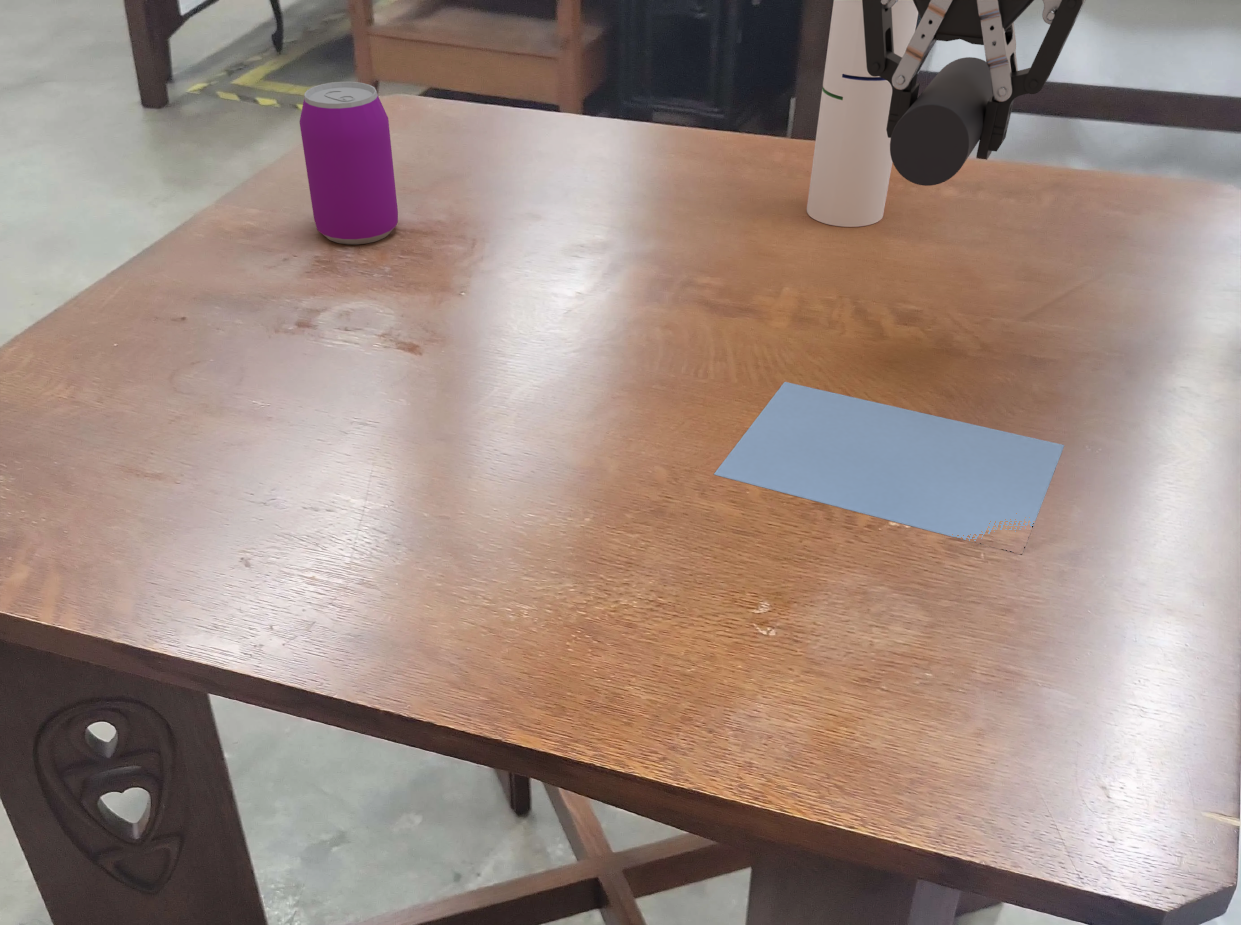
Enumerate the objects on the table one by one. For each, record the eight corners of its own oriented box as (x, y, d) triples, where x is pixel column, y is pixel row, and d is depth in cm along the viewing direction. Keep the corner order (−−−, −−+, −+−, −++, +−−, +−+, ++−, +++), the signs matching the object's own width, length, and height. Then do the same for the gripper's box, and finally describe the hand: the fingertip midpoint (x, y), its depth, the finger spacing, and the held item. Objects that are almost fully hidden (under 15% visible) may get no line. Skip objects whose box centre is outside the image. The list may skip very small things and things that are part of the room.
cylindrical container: (867, 232, 108) (920, -89, 91) (794, 217, 111) (833, -97, 94) (894, 206, 113) (949, -104, 96) (824, 192, 116) (865, -112, 99)
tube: (930, 136, 86) (928, 61, 83) (1002, 129, 83) (1003, 52, 80) (891, 188, 78) (887, 108, 76) (969, 182, 76) (968, 99, 73)
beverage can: (416, 231, 109) (403, 92, 101) (347, 255, 106) (328, 112, 98) (367, 208, 114) (351, 73, 106) (300, 230, 110) (277, 92, 102)
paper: (1063, 447, 81) (1064, 444, 81) (1021, 557, 72) (1022, 554, 71) (784, 384, 88) (784, 381, 87) (713, 476, 78) (713, 474, 78)
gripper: (1136, -155, 69) (1059, 147, 81) (894, -166, 74) (853, 120, 86) (1120, -135, 64) (1040, 184, 76) (861, -148, 69) (823, 153, 81)
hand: (941, 149), depth 81 cm, fingers closed on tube, 5 cm apart
